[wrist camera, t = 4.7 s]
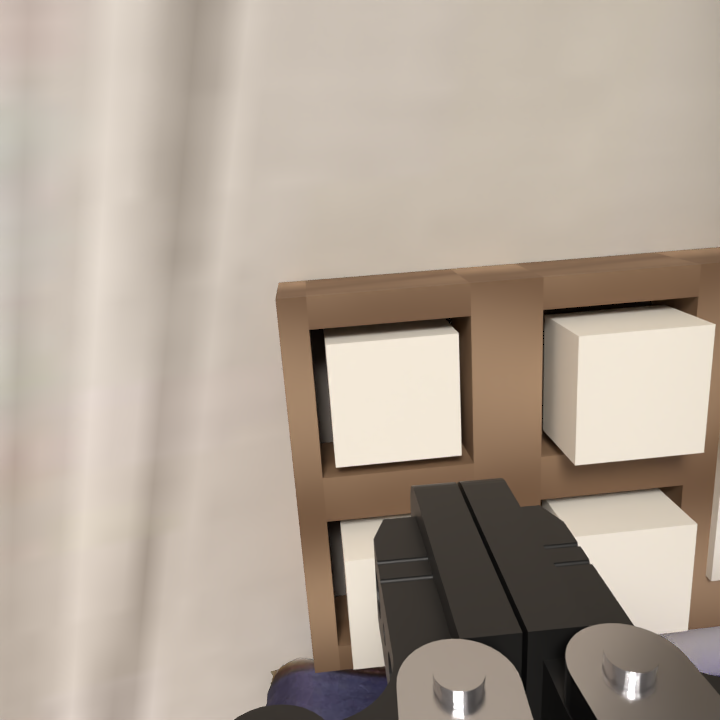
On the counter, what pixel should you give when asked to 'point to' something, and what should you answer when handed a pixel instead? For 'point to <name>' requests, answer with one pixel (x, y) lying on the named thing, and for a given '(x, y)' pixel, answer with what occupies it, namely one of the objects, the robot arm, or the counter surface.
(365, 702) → the flask
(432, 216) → the counter surface
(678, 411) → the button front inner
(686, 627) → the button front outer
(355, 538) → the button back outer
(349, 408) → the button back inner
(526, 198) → the counter surface
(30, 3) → the counter surface
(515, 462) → the panel
